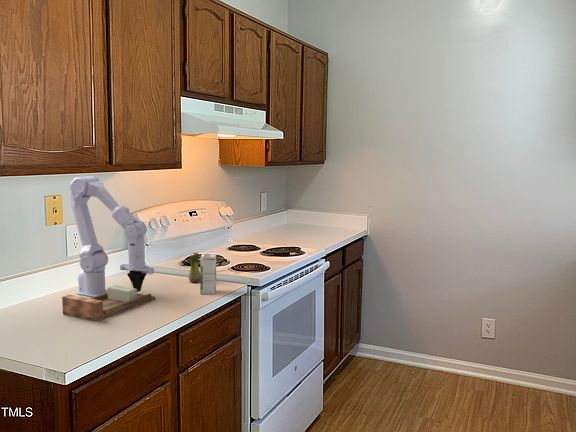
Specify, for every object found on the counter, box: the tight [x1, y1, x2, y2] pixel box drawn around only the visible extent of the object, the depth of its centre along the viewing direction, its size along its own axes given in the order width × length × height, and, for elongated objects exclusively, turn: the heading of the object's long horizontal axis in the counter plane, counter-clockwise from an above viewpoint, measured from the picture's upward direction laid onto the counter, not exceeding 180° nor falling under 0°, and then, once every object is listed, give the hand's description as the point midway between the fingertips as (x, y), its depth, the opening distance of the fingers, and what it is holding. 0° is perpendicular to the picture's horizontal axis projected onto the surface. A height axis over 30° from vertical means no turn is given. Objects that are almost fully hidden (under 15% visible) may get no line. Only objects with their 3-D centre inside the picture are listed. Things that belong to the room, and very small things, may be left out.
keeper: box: [106, 284, 138, 302], centre depth 191 cm, size 10×4×4 cm, turn 63°
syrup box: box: [199, 253, 217, 295], centre depth 205 cm, size 6×6×14 cm
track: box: [61, 293, 156, 322], centre depth 186 cm, size 15×28×6 cm, turn 153°
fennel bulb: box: [188, 252, 200, 283], centre depth 220 cm, size 6×5×12 cm
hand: (137, 291), depth 198 cm, fingers closed
